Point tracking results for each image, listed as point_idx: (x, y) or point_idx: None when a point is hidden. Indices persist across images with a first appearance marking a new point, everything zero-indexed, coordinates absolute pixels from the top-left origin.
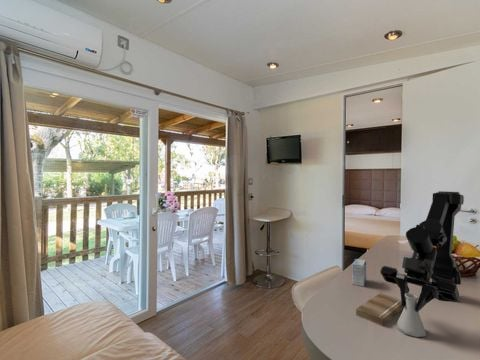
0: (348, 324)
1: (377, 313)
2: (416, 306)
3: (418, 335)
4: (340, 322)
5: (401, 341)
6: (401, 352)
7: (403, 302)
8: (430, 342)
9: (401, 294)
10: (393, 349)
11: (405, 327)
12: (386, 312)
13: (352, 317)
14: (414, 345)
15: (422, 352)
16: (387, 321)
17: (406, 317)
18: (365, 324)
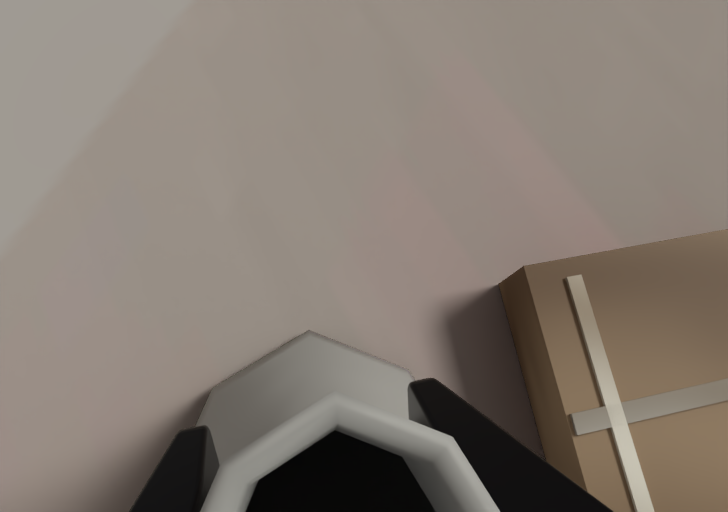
0: (634, 50)
1: (637, 335)
2: (192, 466)
3: (204, 406)
4: (679, 21)
5: (265, 203)
6: (186, 65)
7: (433, 413)
8: (101, 439)
9: (573, 499)
10: (241, 49)
11: (313, 345)
12: (618, 463)
13: (713, 171)
14: (171, 246)
15: (83, 206)
16: (532, 401)
17: (327, 374)
18: (582, 171)
